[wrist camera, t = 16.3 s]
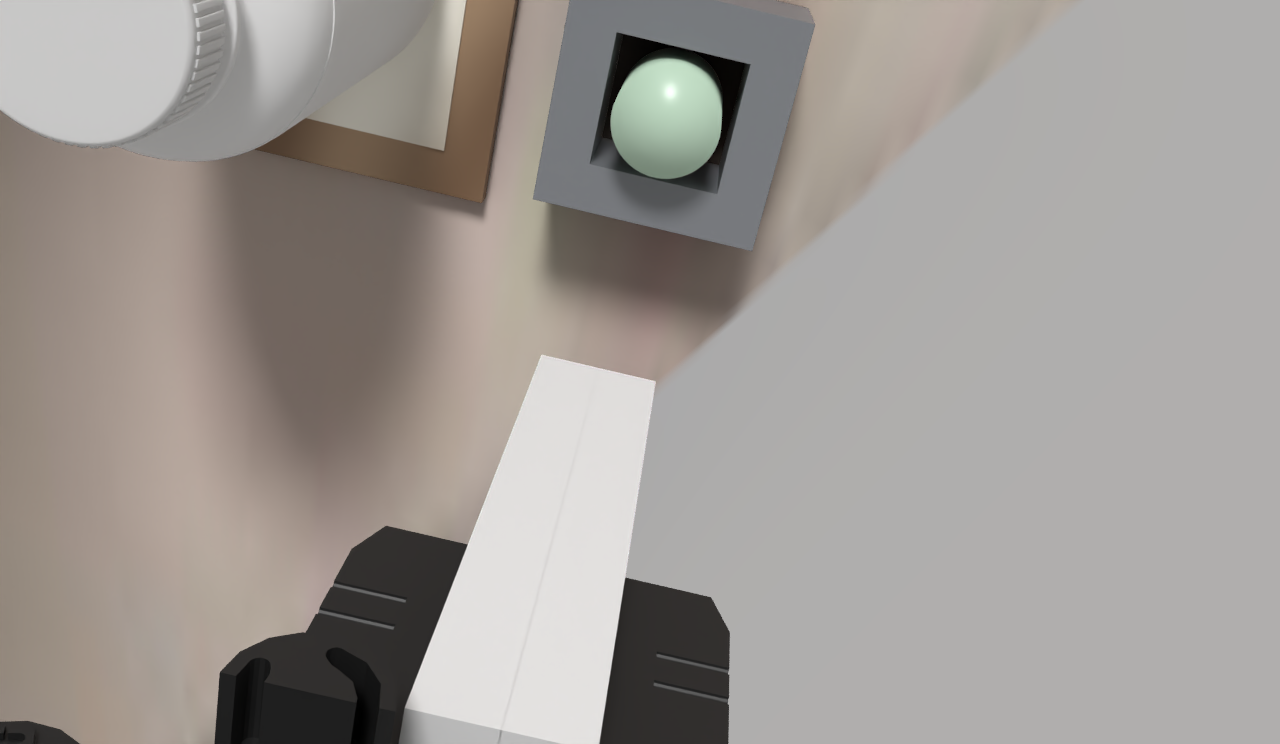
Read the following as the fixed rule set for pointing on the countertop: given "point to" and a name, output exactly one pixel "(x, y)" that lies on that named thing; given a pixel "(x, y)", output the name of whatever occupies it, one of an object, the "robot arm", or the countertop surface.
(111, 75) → the pill bottle
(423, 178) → the clipboard
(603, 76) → the button housing
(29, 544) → the countertop surface
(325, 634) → the robot arm
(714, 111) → the button
